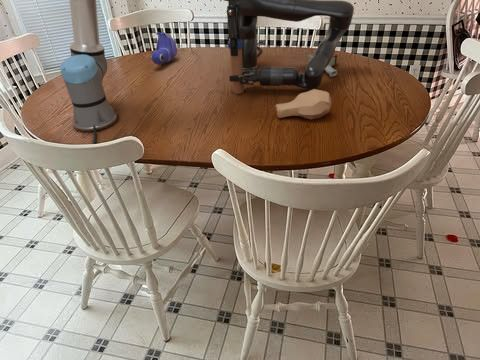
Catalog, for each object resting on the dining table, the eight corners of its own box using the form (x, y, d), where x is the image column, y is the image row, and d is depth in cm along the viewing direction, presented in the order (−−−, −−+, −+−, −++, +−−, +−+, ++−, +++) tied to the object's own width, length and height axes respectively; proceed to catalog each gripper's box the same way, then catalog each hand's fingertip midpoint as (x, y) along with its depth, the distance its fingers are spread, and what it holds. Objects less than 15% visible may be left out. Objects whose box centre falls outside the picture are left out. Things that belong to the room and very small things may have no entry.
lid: (225, 47, 140) (225, 41, 139) (238, 44, 143) (237, 38, 141) (232, 50, 136) (232, 44, 135) (245, 47, 139) (245, 41, 137)
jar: (244, 93, 148) (241, 44, 137) (233, 94, 148) (229, 45, 137) (243, 89, 152) (240, 41, 141) (232, 90, 152) (228, 42, 140)
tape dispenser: (333, 81, 157) (348, 64, 170) (335, 70, 154) (350, 54, 166) (297, 74, 164) (314, 58, 177) (297, 63, 161) (315, 47, 174)
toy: (165, 64, 197) (145, 70, 175) (161, 31, 190) (139, 33, 168) (182, 63, 195) (163, 69, 172) (178, 30, 188) (158, 32, 166)
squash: (335, 120, 125) (335, 98, 118) (278, 130, 127) (276, 109, 120) (328, 102, 132) (328, 81, 126) (275, 112, 134) (272, 92, 128)
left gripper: (226, -17, 135) (230, 46, 149) (216, -8, 120) (222, 60, 134) (246, -17, 134) (248, 46, 148) (238, -9, 119) (241, 60, 133)
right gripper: (270, 92, 141) (228, 91, 143) (273, 78, 152) (234, 78, 155) (270, 73, 136) (226, 73, 139) (273, 61, 148) (233, 61, 150)
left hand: (235, 53), depth 141 cm, fingers closed on lid, 6 cm apart
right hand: (231, 76), depth 147 cm, fingers closed on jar, 4 cm apart
